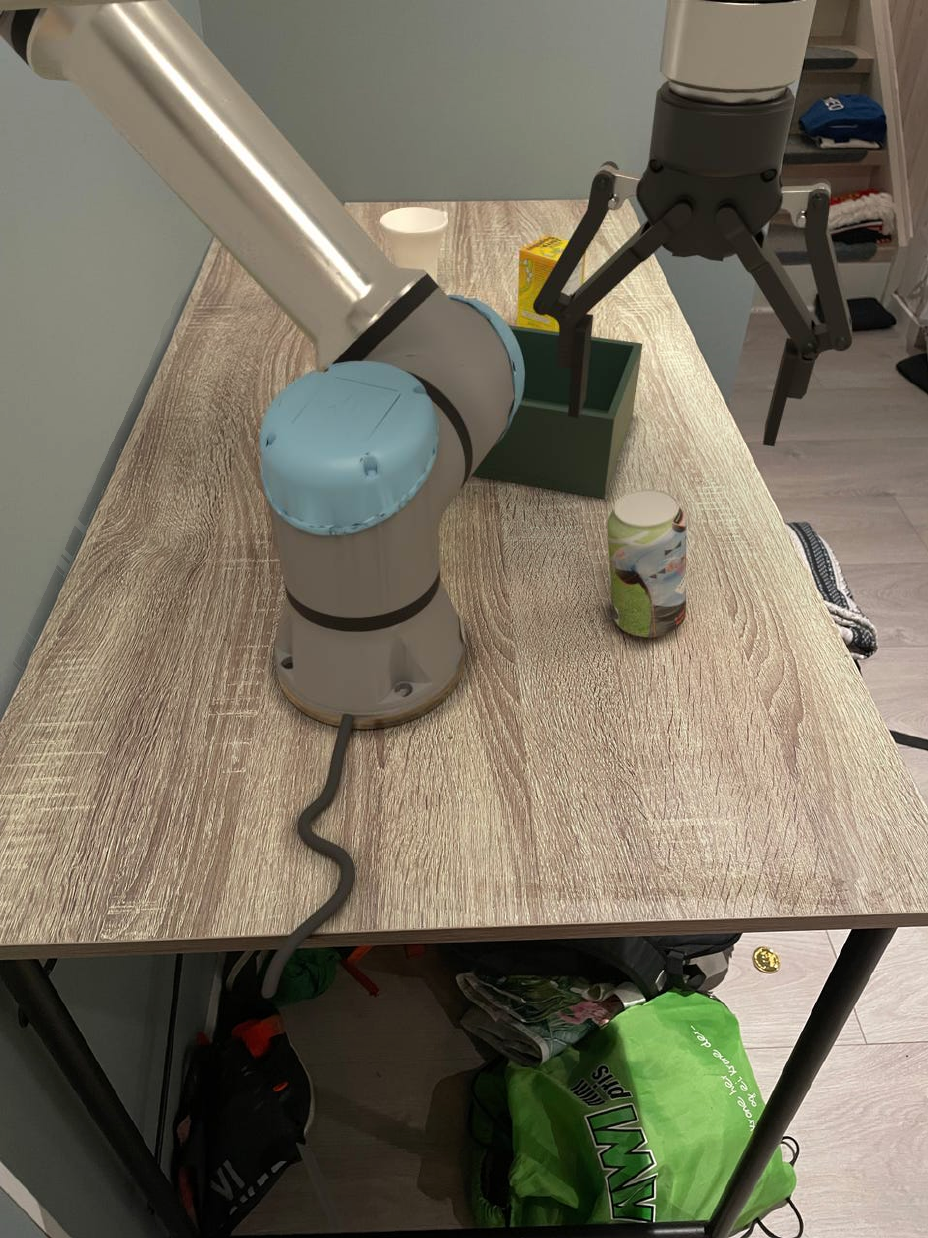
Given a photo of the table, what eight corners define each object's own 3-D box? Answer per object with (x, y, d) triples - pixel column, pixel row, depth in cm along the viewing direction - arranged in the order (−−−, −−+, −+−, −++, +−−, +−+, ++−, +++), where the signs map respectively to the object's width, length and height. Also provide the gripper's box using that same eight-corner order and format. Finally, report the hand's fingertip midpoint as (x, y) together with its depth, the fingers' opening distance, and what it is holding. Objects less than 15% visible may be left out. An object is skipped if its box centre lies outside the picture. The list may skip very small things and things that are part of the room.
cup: (461, 298, 123) (460, 222, 116) (396, 310, 121) (391, 233, 114) (438, 273, 129) (436, 200, 122) (375, 284, 127) (370, 209, 120)
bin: (604, 499, 90) (614, 419, 84) (454, 472, 93) (453, 393, 87) (632, 419, 101) (642, 343, 95) (496, 397, 104) (498, 323, 98)
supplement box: (542, 318, 119) (547, 233, 111) (580, 331, 116) (588, 245, 108) (514, 335, 115) (517, 248, 108) (553, 349, 113) (559, 261, 105)
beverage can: (681, 651, 75) (707, 536, 66) (592, 639, 76) (606, 524, 67) (684, 601, 79) (708, 487, 71) (599, 590, 80) (613, 476, 72)
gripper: (964, 80, 50) (855, 419, 65) (523, 54, 55) (514, 372, 70) (978, 118, 45) (856, 477, 59) (490, 86, 50) (487, 422, 65)
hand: (670, 421), depth 65 cm, fingers open, 13 cm apart
